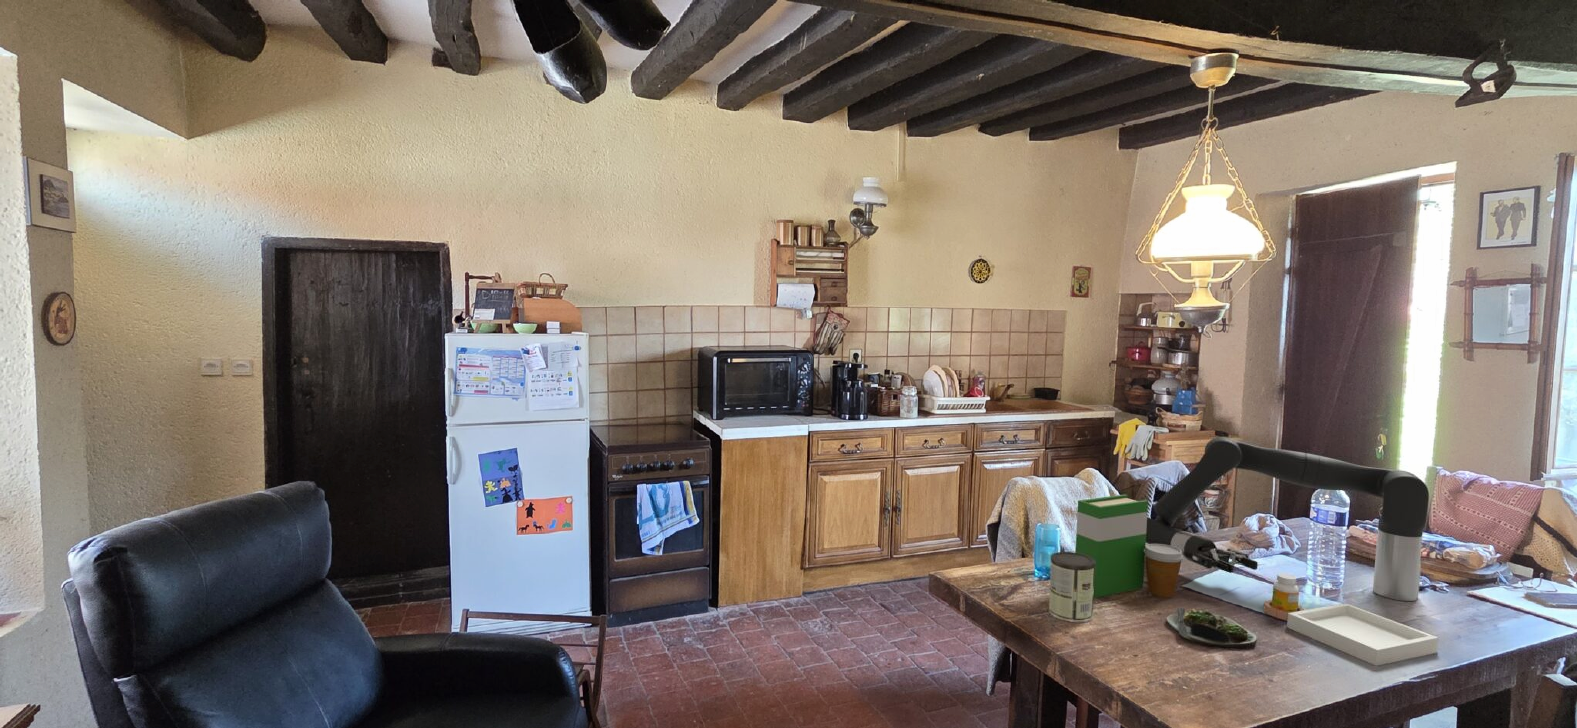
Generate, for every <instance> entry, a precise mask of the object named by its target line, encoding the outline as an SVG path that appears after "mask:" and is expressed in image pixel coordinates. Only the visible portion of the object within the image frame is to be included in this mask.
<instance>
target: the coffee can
mask: <svg viewBox="0 0 1577 728" xmlns="http://www.w3.org/2000/svg"><path fill="white" fill-rule="evenodd" d="M1095 563H1096V562H1095V560H1094V559H1093V558H1091V557H1089V556H1087V555H1084V554H1079V553H1075V552H1073V551H1072V552H1071V551H1061V552H1060V551H1059V552H1054V553H1052V554H1050V576H1049V578H1050V579H1049V581H1050V582H1049V602H1048V603H1049V606H1048V613H1049V614H1050V615H1051V616H1052V617H1054V618H1056V619H1059V620H1061V621H1064V620H1065V621H1064V622H1068V621H1069V622H1068V623H1076V624H1077V623H1087V622H1090V621H1091V620H1092V619H1093V617H1094V616H1093V613H1094V612H1093V611H1094V610H1093V609H1094V597H1093V591H1094V570H1095Z"/></svg>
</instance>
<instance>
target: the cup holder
mask: <svg viewBox="0 0 1577 728" xmlns="http://www.w3.org/2000/svg"><path fill="white" fill-rule="evenodd" d="M1303 610H1306V609H1304V608H1303V607H1302V606H1300V605H1298V611H1303ZM1263 611H1264V612H1265V613H1266V614H1267V615H1269V616H1272V617H1273V618H1276V619H1279V620H1280V619H1281V620H1284V621H1287V620H1288V613H1292V612H1286V611H1282V610H1278V609H1276V608H1273V607H1272V599H1270V600H1269V599H1268V600H1265V601H1264V603H1263Z"/></svg>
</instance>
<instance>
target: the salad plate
mask: <svg viewBox="0 0 1577 728" xmlns="http://www.w3.org/2000/svg"><path fill="white" fill-rule="evenodd" d="M1166 621H1167V623H1168V624H1169V626H1171V627H1172V628H1173V629H1174V630H1175V631H1176V632H1178V633H1179V636H1181V637H1182V638H1184V639H1186V640H1187V641H1188V642H1190V643H1193V644H1196V645H1200V646H1203V647H1206V648H1213V649H1226V650H1227V649H1228V650H1229V649H1231V650H1233V649H1234V650H1241V649H1242V650H1243V649H1249V648H1252V647H1254V646H1255V645H1256V644H1257V642H1258V636H1257V635H1256V634H1255V633H1253V632H1252V631H1249V630H1248V629H1246V628H1245V627H1243V626H1242V625H1241V624H1240V623H1237V622H1236V621H1235V620H1233V619H1231V618H1229V617H1226V616H1222V615H1219V614H1213V613H1211V612H1210V611H1209V610H1195V608H1191V610H1190V611H1189V612H1187V611H1186V608H1184V607H1178V608H1177V613H1173V614H1169V615H1168V616H1166Z"/></svg>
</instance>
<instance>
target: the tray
mask: <svg viewBox="0 0 1577 728" xmlns="http://www.w3.org/2000/svg"><path fill="white" fill-rule="evenodd" d="M1286 621H1287V622H1286V628H1288V629H1290V630H1292V631H1295V632H1297V633H1299V634H1302V635H1304V636H1306V637H1308V638H1311V639H1313V640H1315V641H1317V642H1320V643H1323V644H1325V645H1327V646H1330V647H1332V648H1334V649H1336V650H1339V651H1341V652H1344V653H1346V654H1348V655H1350V656H1353V657H1355V658H1357V659H1359V660H1362V661H1363V662H1366V663H1369V664H1371V663H1372V664H1371V665H1373V666H1376V667H1377V666H1382V665H1387V664H1391V663H1395V662H1401V661H1405V660H1411V659H1415V658H1419V657H1424V656H1429V655H1434V654H1437V653H1438V652H1439V651H1438V649H1439V637H1438V636H1435V635H1433V634H1429V633H1427V632H1425V631H1422V630H1419V629H1416V628H1414V627H1411V626H1408V625H1406V624H1404V623H1400V622H1397V621H1396V620H1392V619H1390V618H1387V617H1385V616H1381V615H1379V614H1376V613H1373V612H1371V611H1368V610H1365V609H1363V608H1360V607H1358V606H1355V605H1352V604H1349V603H1348V602H1347V603H1346V602H1345V603H1340V604H1333V605H1327V606H1324V607H1323V606H1322V607H1316V608H1310V609H1305V610H1303V611H1297V612H1292V613H1288V620H1286ZM1433 653H1434V654H1433ZM1386 663H1387V664H1386Z"/></svg>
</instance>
